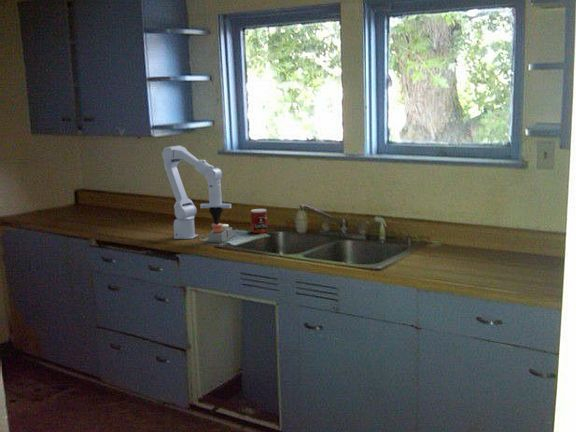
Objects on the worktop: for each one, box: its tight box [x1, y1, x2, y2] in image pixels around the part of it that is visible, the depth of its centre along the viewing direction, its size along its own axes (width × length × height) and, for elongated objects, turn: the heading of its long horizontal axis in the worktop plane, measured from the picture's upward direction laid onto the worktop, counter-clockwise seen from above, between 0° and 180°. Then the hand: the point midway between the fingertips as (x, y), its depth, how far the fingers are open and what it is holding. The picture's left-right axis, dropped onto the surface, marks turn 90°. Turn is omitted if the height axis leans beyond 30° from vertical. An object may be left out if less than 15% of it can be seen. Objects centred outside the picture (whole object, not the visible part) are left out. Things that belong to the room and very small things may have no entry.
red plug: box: [211, 222, 223, 234], centre depth 311 cm, size 5×5×4 cm
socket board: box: [204, 226, 237, 243], centre depth 316 cm, size 10×16×4 cm, turn 166°
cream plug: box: [221, 223, 230, 230], centre depth 320 cm, size 5×5×4 cm
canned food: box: [250, 208, 268, 234], centre depth 326 cm, size 8×8×11 cm
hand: (216, 223), depth 311 cm, fingers closed
